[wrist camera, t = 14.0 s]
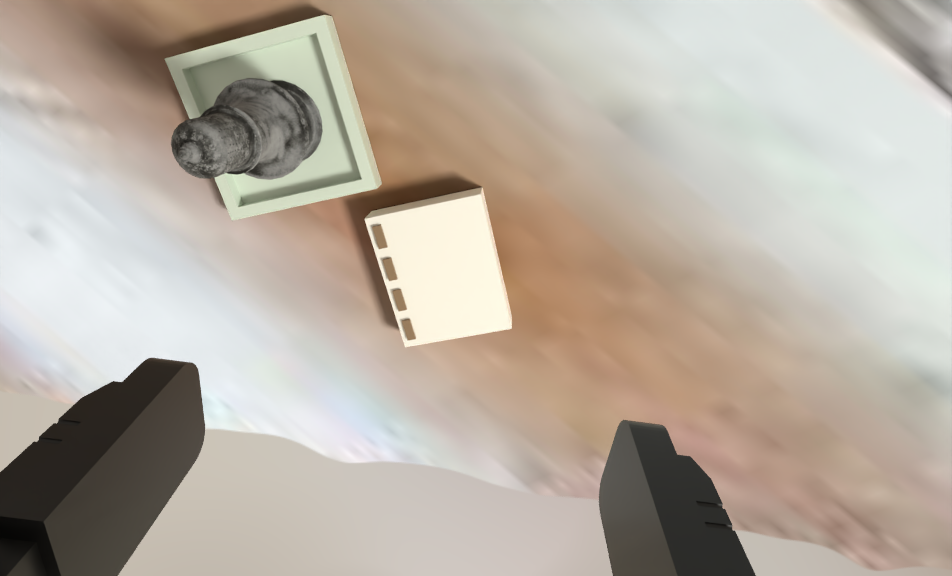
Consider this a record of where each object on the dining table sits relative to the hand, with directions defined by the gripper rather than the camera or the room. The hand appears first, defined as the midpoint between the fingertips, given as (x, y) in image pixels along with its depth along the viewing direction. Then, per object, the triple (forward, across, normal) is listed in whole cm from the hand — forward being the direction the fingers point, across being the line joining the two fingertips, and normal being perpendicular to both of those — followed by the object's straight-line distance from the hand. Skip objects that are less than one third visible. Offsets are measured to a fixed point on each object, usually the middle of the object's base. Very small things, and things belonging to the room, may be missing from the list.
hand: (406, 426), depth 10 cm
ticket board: (+28, +1, +9) cm, 30 cm away
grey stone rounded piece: (+28, +12, +1) cm, 31 cm away
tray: (+29, +12, +1) cm, 31 cm away
